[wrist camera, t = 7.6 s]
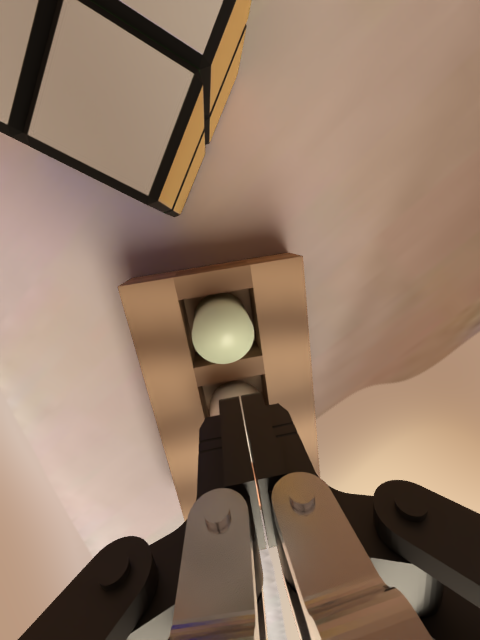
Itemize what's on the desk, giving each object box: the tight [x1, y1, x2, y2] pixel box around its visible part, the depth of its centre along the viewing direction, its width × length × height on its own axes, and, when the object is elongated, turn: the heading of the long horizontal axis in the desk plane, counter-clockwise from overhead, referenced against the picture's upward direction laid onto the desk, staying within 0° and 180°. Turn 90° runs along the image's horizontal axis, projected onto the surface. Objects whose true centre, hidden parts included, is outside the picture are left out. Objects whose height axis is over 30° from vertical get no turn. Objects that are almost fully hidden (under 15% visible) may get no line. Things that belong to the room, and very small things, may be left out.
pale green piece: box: [192, 293, 254, 364], centre depth 20 cm, size 4×4×4 cm
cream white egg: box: [210, 381, 258, 462], centre depth 20 cm, size 4×4×4 cm
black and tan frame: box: [0, 0, 251, 217], centre depth 13 cm, size 10×10×10 cm
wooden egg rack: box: [118, 253, 320, 521], centre depth 23 cm, size 21×12×4 cm, turn 8°
